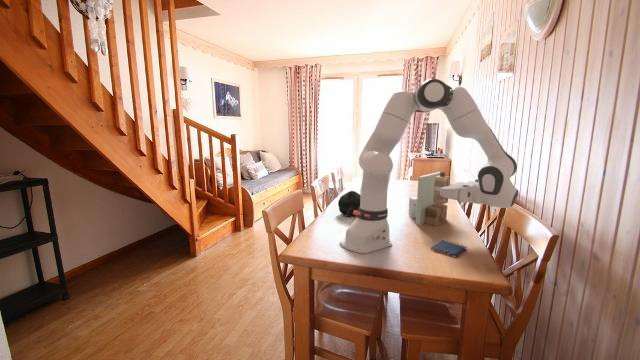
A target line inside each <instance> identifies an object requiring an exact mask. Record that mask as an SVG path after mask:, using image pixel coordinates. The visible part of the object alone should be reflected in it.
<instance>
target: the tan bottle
mask: <svg viewBox="0 0 640 360" xmlns="http://www.w3.org/2000/svg"><path fill="white" fill-rule="evenodd" d="M439 172H440V175H439V176H435V183H434V197H433V203H438V204H443V205H446V204H448V203H449V198H445V197H442V196H440V191H436V190H435V187H436V186H440V187H445V186H449V184H450V181H451V176H449V175H446V171H439Z"/></svg>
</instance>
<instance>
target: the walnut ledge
mask: <svg viewBox="0 0 640 360" xmlns="http://www.w3.org/2000/svg"><path fill="white" fill-rule="evenodd" d="M447 211H448V205H447V204H438V203H436V204H434V205H431V206H429V207H426V209H425V223H424V224H427V225H430V226H434V227H436V226H438V225H440V224H441V223H444V222H446V221H447V216H448V215H447V213H448V212H447Z"/></svg>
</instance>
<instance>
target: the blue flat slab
mask: <svg viewBox="0 0 640 360" xmlns="http://www.w3.org/2000/svg"><path fill="white" fill-rule="evenodd" d="M467 250H468V249H467V246H464V245H460V244H456V243H453V242H450V241H446V240H440V241H439V242H437V243H434V244H433V245H431V247H430V251H433V252H436V253H439V254H441V255H442V254H443V255H447V256H448V257H453V258H457V257H459V255H462V253H464V252H465V251H467Z"/></svg>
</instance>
